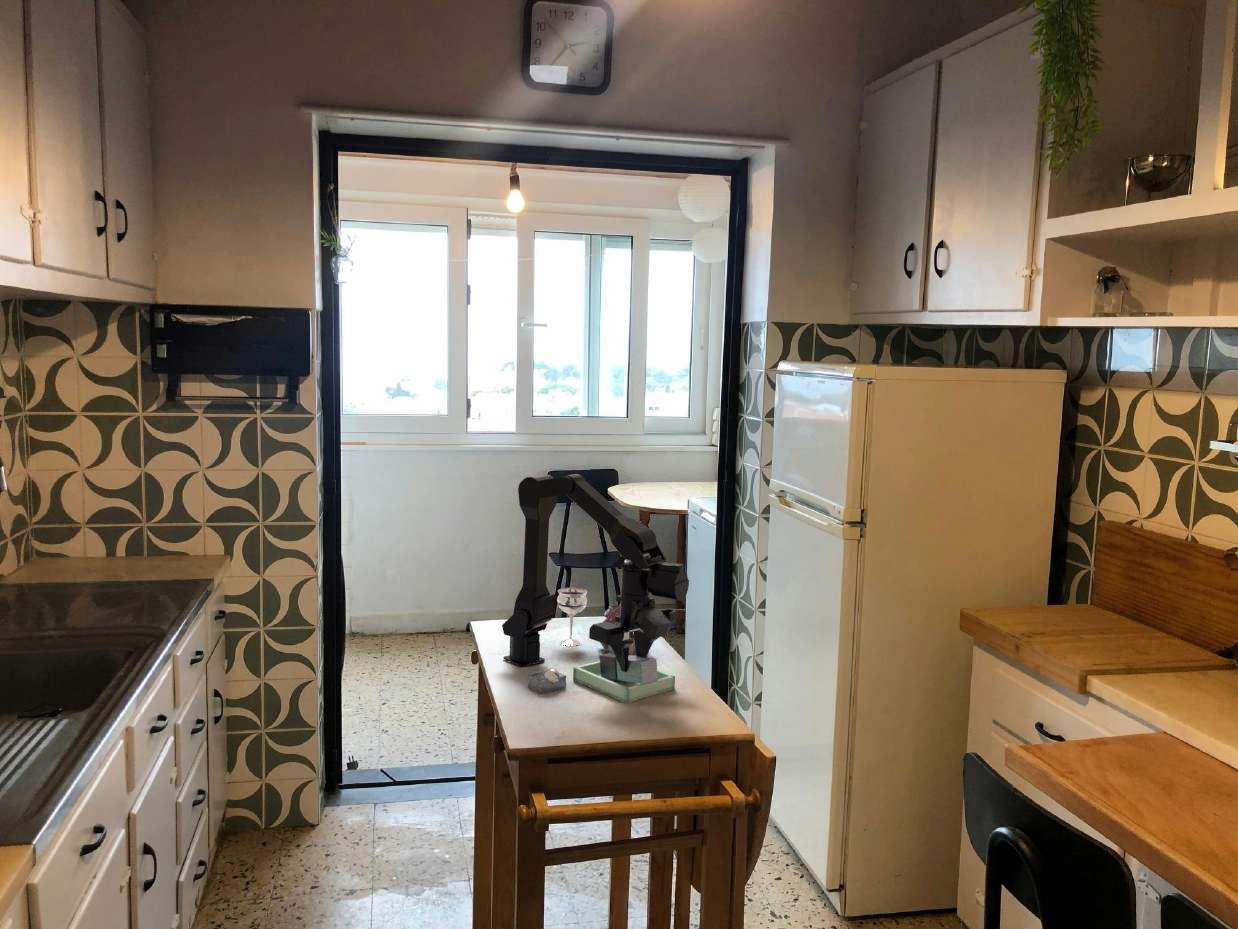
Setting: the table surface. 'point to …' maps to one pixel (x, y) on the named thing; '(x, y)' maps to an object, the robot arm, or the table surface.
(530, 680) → the stud mount
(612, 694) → the tray
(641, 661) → the strut
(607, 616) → the brake caliper
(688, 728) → the table surface
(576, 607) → the wineglass
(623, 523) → the robot arm
